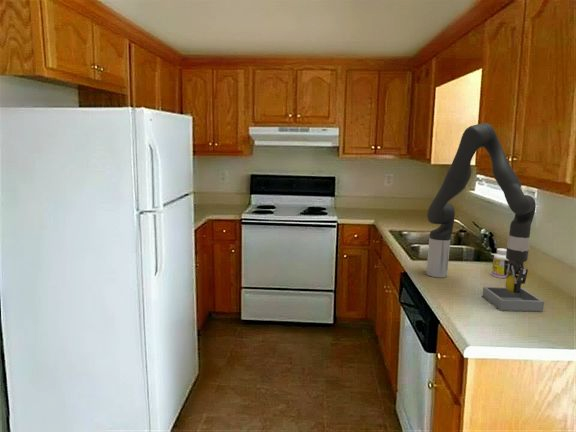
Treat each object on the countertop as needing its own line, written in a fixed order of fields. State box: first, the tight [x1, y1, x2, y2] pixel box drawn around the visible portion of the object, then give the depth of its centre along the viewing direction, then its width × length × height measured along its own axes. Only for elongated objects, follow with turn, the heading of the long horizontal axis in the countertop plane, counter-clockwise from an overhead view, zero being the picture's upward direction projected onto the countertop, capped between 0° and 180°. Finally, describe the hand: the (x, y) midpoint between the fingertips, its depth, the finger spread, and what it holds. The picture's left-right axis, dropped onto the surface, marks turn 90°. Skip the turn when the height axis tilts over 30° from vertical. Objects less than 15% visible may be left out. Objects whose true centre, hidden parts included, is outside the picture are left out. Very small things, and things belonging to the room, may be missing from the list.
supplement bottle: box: [491, 247, 508, 279], centre depth 225 cm, size 7×7×13 cm
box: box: [481, 286, 545, 313], centre depth 188 cm, size 16×16×4 cm
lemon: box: [505, 275, 523, 294], centre depth 186 cm, size 6×6×8 cm
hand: (512, 290), depth 187 cm, fingers closed on lemon, 5 cm apart
